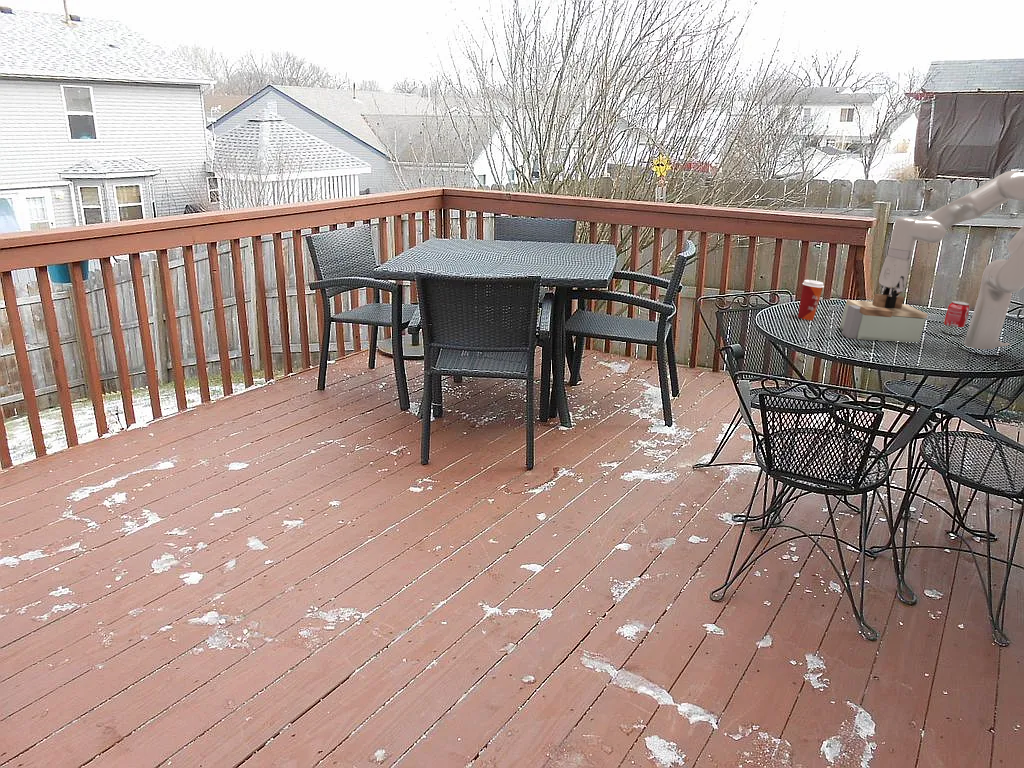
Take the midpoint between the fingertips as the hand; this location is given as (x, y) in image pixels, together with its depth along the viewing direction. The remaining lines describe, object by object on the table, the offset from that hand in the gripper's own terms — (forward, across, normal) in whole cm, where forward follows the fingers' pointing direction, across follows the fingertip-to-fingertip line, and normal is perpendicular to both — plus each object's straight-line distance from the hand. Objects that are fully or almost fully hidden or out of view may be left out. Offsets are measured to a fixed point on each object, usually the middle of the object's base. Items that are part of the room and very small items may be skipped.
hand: (886, 306), depth 269 cm
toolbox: (+11, 0, -2) cm, 11 cm away
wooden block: (0, +14, -11) cm, 18 cm away
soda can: (+11, -13, +34) cm, 39 cm away
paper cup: (+11, -19, -19) cm, 29 cm away
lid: (+2, 0, 0) cm, 2 cm away
